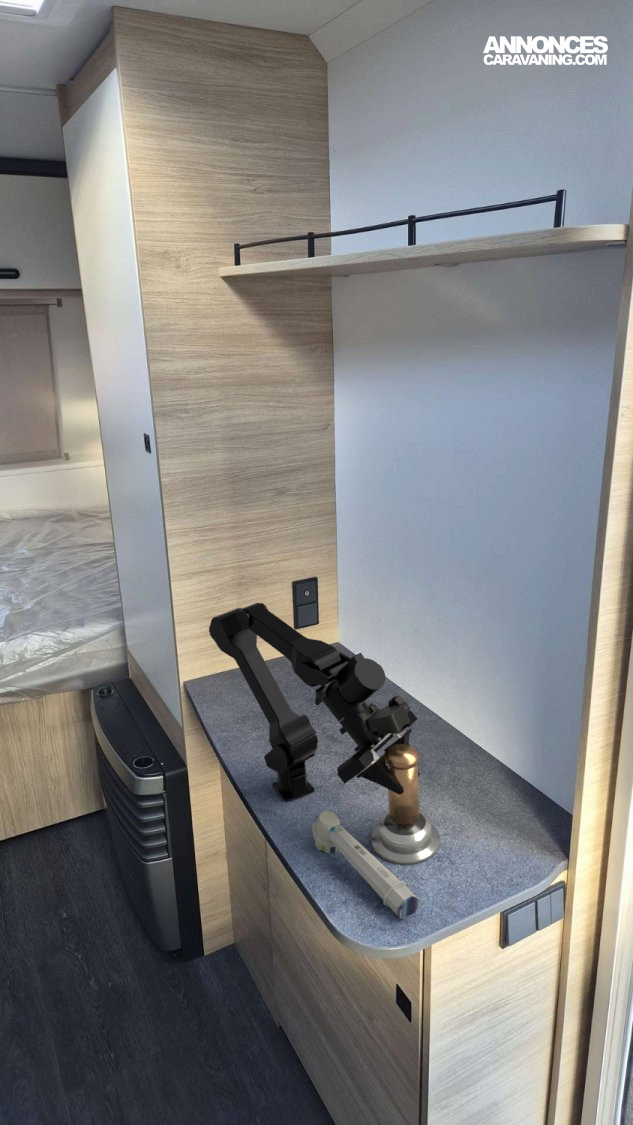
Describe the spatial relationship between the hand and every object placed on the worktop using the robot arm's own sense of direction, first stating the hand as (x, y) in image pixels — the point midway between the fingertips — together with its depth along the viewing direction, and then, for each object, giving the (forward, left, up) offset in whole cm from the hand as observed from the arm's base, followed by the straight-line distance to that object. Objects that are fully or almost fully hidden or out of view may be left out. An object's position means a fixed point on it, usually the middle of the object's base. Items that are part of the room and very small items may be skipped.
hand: (410, 784), depth 134 cm
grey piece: (+2, -11, -12) cm, 17 cm away
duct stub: (-1, -1, -12) cm, 12 cm away
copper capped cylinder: (-1, -1, -7) cm, 7 cm away
